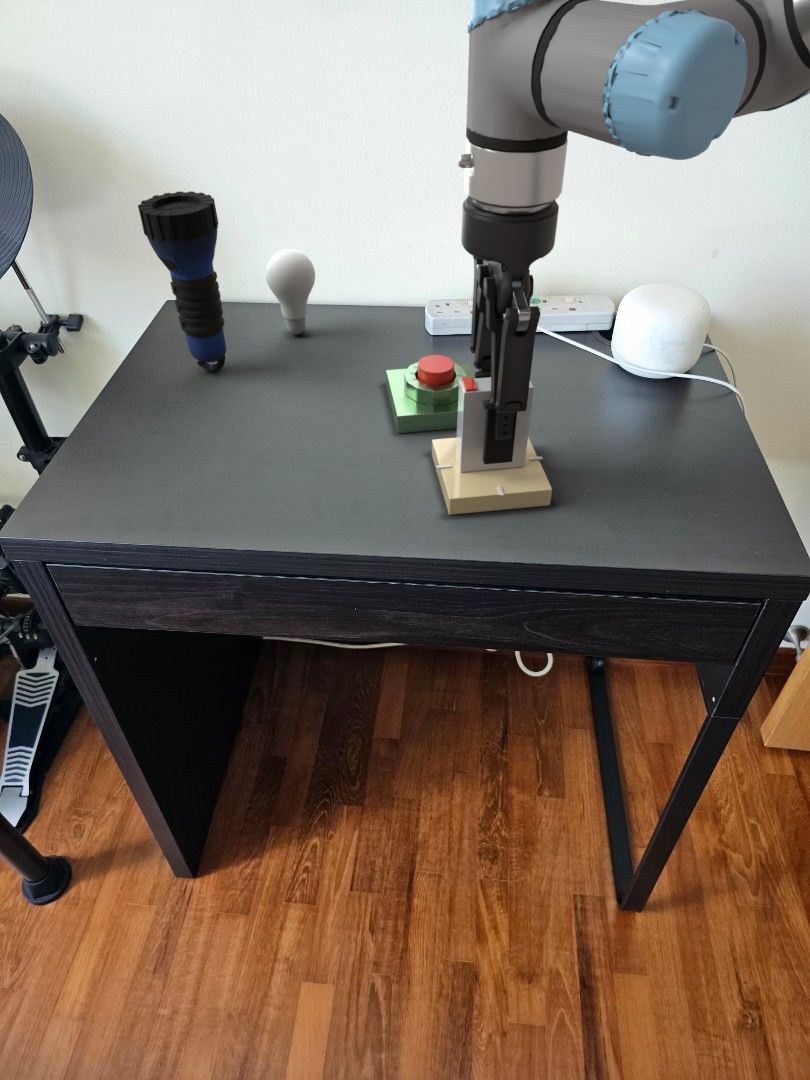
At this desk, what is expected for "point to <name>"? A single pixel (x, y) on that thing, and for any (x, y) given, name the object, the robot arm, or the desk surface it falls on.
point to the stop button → (435, 370)
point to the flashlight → (190, 267)
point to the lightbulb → (291, 285)
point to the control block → (424, 399)
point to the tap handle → (474, 427)
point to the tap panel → (489, 482)
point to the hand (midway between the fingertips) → (491, 444)
